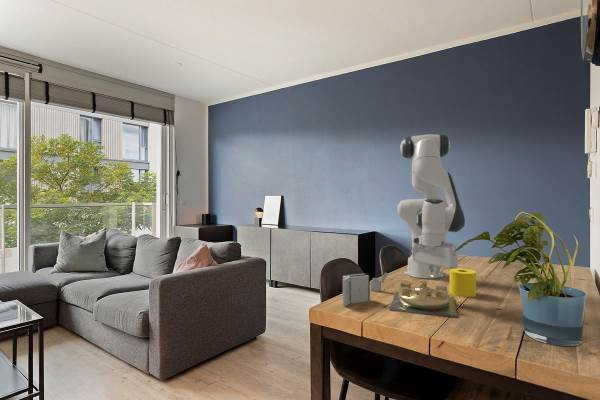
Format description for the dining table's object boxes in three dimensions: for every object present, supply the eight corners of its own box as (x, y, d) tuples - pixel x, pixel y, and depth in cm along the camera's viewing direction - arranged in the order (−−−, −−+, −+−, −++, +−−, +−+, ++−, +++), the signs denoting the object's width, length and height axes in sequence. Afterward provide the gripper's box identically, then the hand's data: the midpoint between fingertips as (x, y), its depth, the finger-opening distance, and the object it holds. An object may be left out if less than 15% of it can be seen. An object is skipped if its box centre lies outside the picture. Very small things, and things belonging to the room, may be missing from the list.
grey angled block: (370, 290, 149) (370, 272, 149) (371, 289, 151) (371, 271, 151) (387, 292, 147) (387, 273, 146) (388, 291, 148) (388, 272, 148)
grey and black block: (344, 307, 128) (344, 279, 127) (335, 303, 132) (334, 277, 132) (371, 300, 135) (371, 274, 135) (361, 297, 140) (361, 272, 140)
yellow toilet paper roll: (479, 297, 138) (479, 274, 138) (452, 296, 140) (452, 273, 140) (472, 290, 148) (472, 268, 148) (447, 289, 150) (447, 268, 150)
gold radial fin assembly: (400, 293, 142) (400, 279, 142) (448, 297, 135) (448, 282, 135) (396, 306, 125) (396, 290, 125) (450, 312, 118) (450, 295, 118)
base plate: (395, 293, 144) (395, 291, 144) (453, 299, 136) (453, 296, 136) (389, 310, 124) (389, 307, 124) (457, 317, 116) (457, 315, 116)
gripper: (462, 243, 126) (461, 281, 126) (421, 237, 145) (421, 271, 145) (449, 244, 124) (449, 282, 123) (409, 238, 142) (409, 272, 142)
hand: (433, 276), depth 134 cm, fingers closed
